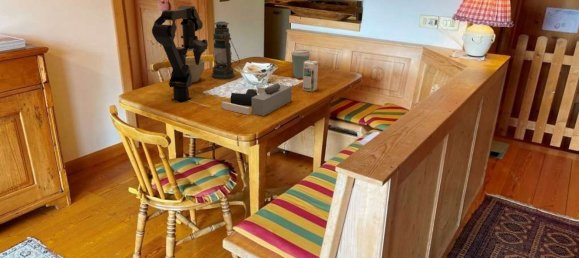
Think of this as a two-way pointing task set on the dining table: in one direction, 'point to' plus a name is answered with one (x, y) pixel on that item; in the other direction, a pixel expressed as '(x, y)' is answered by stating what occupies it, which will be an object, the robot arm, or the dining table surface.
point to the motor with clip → (264, 100)
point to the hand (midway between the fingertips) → (190, 66)
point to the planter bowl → (195, 68)
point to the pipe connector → (243, 97)
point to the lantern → (222, 52)
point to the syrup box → (310, 75)
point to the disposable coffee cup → (299, 61)
